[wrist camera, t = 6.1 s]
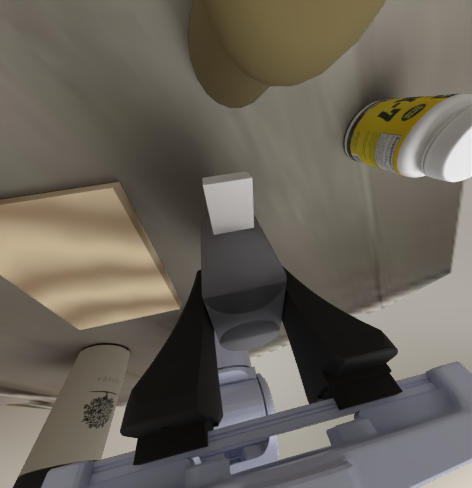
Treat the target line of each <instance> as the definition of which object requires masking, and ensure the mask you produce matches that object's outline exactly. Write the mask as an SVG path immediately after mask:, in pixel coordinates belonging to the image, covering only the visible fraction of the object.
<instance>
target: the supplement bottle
mask: <svg viewBox="0 0 472 488" xmlns="http://www.w3.org/2000/svg"><path fill="white" fill-rule="evenodd" d="M345 151H346V154H347V155H348V157H349V158H351V159H352V160H355V161H358V162H361V163H364V164H368V165H371V166H374V167H377V168H380V169H384V170H387V171H390V172H394V173H397V174H400V175H403V176H407V177H422V176H429V177H431V178H436V179H440V180H444V181H448V182H458V181H462V180H465V179H467V178H470V177H472V95H471V94H451V95H438V96H425V97H410V98H397V99H383V100H378V101H375V102H373V103H371V104H369V105H368V106H366V107H365V108H364V109H363V110H361V111H360V112H359V113H358V114H357V116H356V117H355V118H354V119H353V121H352V122H351V124H350V126H349V128H348V130H347V133H346V137H345Z"/></svg>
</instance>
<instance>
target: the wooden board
mask: <svg viewBox="0 0 472 488" xmlns="http://www.w3.org/2000/svg"><path fill="white" fill-rule="evenodd" d="M0 275H1V276H2V277H4V278H5V279H7V280H8V281H10V282H11V283H12V284H14V285H15V286H17V287H18V288H20V289H21V290H22V291H24V292H25V293H27V294H28V295H30V296H31V297H33V298H34V299H35V300H37V301H38V302H40V303H41V304H43V305H44V306H46V307H47V308H48V309H50V310H51V311H53V312H54V313H56V314H57V315H58V316H60V317H61V318H63V319H64V320H66V321H67V322H69V323H70V324H71V325H73V326H74V327H76V328H77V329H79V330H83V329H87V328H92V327H97V326H102V325H106V324H111V323H116V322H121V321H125V320H130V319H135V318H140V317H144V316H149V315H154V314H159V313H163V312H168V311H173V310H178V309H180V306H181V299H180V297H179V295H178V293H177V291H176V289H175V288H174V286H173V284H172V282H171V280H170V278H169V276H168V274H167V272H166V270H165V268H164V266H163V265H162V263H161V261H160V259H159V257H158V255H157V253H156V251H155V249H154V247H153V245H152V243H151V241H150V240H149V238H148V236H147V234H146V232H145V230H144V228H143V226H142V224H141V222H140V220H139V218H138V216H137V215H136V213H135V211H134V209H133V207H132V205H131V203H130V201H129V199H128V197H127V195H126V193H125V192H124V190H123V188H122V186H121V184H120V182H114V183H108V184H101V185H95V186H88V187H81V188H75V189H68V190H62V191H55V192H48V193H42V194H35V195H28V196H22V197H15V198H9V199H2V200H0Z"/></svg>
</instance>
